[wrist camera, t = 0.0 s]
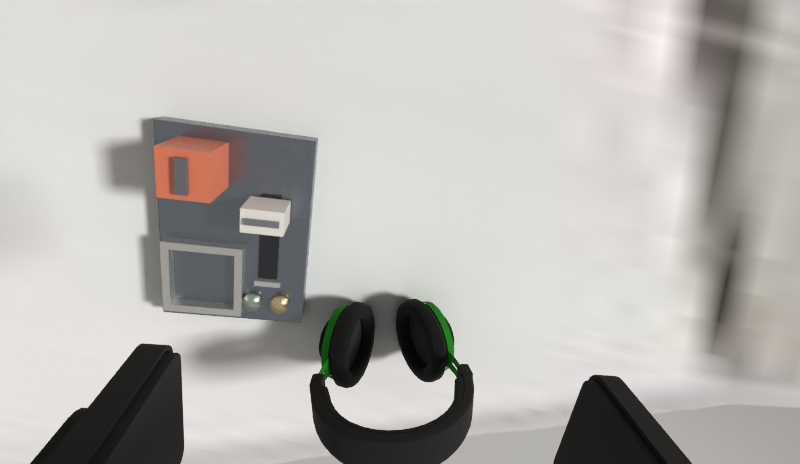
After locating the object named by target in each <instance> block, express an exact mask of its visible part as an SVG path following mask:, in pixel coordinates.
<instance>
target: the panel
mask: <svg viewBox="0 0 800 464" xmlns="http://www.w3.org/2000/svg"><path fill="white" fill-rule="evenodd" d="M154 130H155V145H156V144H159V143H162V142H164V141H167V140H170V139H172V138H175V137H178V136H185V137H193V138H200V139H208V140H215V141H223V142H229V175H228V188H227V189H226V190H225V191H223V192H222V193H221V194H220V195H219V196H218V197H217V198H216V199H215V200H214V201H212V202H211V203H201V202H193V201H184V200H175V199H167V198H158V208H159V228H160V241H159V243H160V262H161V282H162V301H163V311H164V312H174V313H186V314H199V315H211V316H224V317H236V318H249V319H261V320H274V321H286V322H299V323H301V321H302V317H303V312H304V300H305V288H306V276H307V264H308V252H309V240H310V228H311V216H312V204H313V192H314V180H315V169H316V157H317V145H318V138H313V137H306V136H299V135H292V134H285V133H277V132H270V131H263V130H256V129H249V128H241V127H234V126H227V125H220V124H213V123H206V122H198V121H191V120H184V119H177V118H170V117H160V118H156V119H154ZM250 196H256V197H264V198H273V199H281V200H290V201H291V208H290V223H289V225H288V227H287V229H286V231H285V234H284V236H283V237H279V236H270V235H261V234H251V233H242V232H240V208H241V207H242V205H243V204H244V203H245V202H246V201H247V200H248V198H249V197H250Z"/></svg>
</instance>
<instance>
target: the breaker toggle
mask: <svg viewBox="0 0 800 464" xmlns="http://www.w3.org/2000/svg"><path fill="white" fill-rule="evenodd" d="M290 208H291V201H290V200H281V199H273V198H264V197H256V196H250V197H249V198H248V200H247V201H246V202H245V203H244V204H243V205H242V207H241V208H240V232H242V233H251V234H261V235H270V236H279V237H283V236H284V234H285V231H286V229H287V227H288V225H289V223H290Z"/></svg>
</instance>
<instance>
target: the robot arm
mask: <svg viewBox="0 0 800 464" xmlns="http://www.w3.org/2000/svg"><path fill="white" fill-rule="evenodd" d="M183 451H184V430H183V404H182V377H181V357H180V354H179V353H173V350H172V347H171V346H169V345H155V344H140V345H139V346H138V347H136V349H135V350H134V351H133V352H132V354H131V355H130V356H129V357H128V359H127V360H126V361H125V362H124V364H123V365H122V366H121V367H120V369H119V370H118V371H117V372H116V374H115V375H114V376H113V377H112V379H111V380H110V381H109V382H108V384H107V385H106V386H105V387H104V389H103V390H102V391H101V392H100V394H99V395H98V396H97V397H96V399H95V400H94V401H93V402H92V404H91V405H90V406H89V407H88V408H80V409H78V410H77V411H75V412H74V413H73V414H72V415H71V416H70V417H69V418H68V419H67V420H66V421H65V423H64V424H63V425H62V426H61V427H60V429H59V430H58V431H57V432H56V433H55V435H54V436H53V437H52V438H51V439H50V441H49V442H48V443H47V444H46V445H45V447H44V448H43V449H42V450H41V451H40V453H39V454H38V455H37V456H36V457H35V459H34V460H33V461H32V462H31V463H30V464H180V463H181V460H182V456H183ZM554 464H692V463H691V462H690V461H689V459H688V458H687V457H686V456H685V455H684V453H683V452H682V451H681V450H680V449H679V447H678V446H677V445H676V444H675V443H674V441H673V440H672V439H671V438H670V437H669V435H668V434H667V433H666V432H665V431H664V430H663V428H662V427H661V426H660V425H659V424H658V422H657V421H656V420H655V419H654V418H653V416H652V415H651V414H650V413H649V412H648V410H647V409H646V408H645V407H644V406H643V404H642V403H641V402H640V401H639V400H638V398H637V397H636V396H635V395H634V394H633V392H632V391H631V390H630V389H629V388H628V386H627V385H626V384H625V383H624V382H623V381H622V380H621V379H620V378H619V377H616V376H604V375H593V376H591V377H590V378H589V380H588V381H585V382H584V383H583V385H582V388H581V390H580V393H579V396H578V398H577V401H576V403H575V406H574V409H573V411H572V414H571V417H570V419H569V422H568V425H567V427H566V430H565V433H564V435H563V438H562V440H561V443H560V446H559V448H558V451H557V454H556V456H555V459H554Z"/></svg>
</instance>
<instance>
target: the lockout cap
mask: <svg viewBox="0 0 800 464" xmlns="http://www.w3.org/2000/svg"><path fill="white" fill-rule="evenodd" d="M153 149H154V168H155V187H156V197H158V198H167V199H175V200H184V201H193V202H201V203H211V202H212V201H214V200H215V199H216V198H217V197H218V196H219V195H220V194H221V193H222V192H223V191H225V190H226V189H227V188H228V175H229V142H223V141H215V140H208V139H200V138H193V137H185V136H178V137H175V138H172V139H170V140H167V141H164V142H162V143H159V144H156V145H154V146H153Z"/></svg>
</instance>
